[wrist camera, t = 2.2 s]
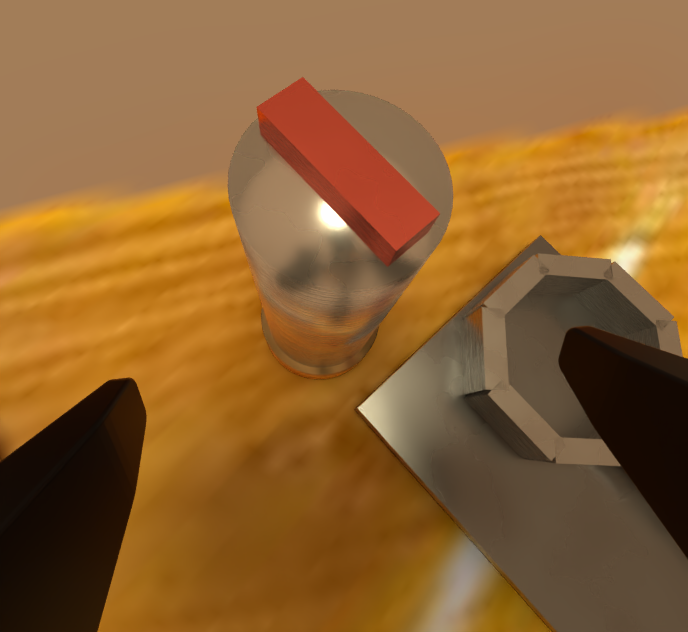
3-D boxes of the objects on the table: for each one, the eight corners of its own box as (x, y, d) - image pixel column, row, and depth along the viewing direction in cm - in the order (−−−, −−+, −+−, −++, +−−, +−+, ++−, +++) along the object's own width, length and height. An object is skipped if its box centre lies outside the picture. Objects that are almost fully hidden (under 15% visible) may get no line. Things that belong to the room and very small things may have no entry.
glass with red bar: (394, 330, 21) (535, 178, 8) (314, 402, 20) (337, 353, 7) (323, 254, 22) (354, 9, 9) (241, 320, 21) (143, 139, 8)
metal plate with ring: (838, 544, 20) (970, 572, 16) (695, 792, 17) (816, 903, 13) (528, 244, 23) (575, 206, 19) (354, 409, 20) (367, 404, 16)
